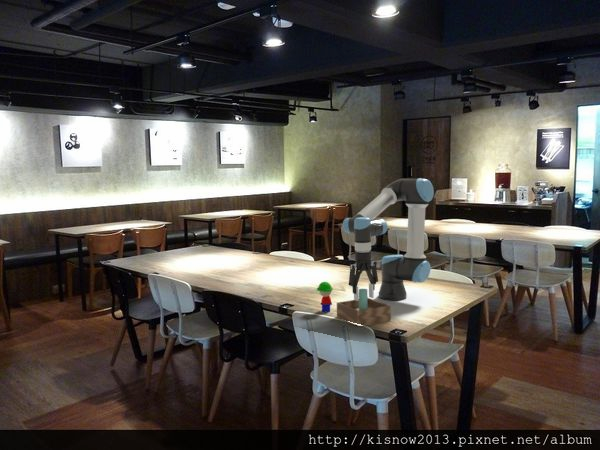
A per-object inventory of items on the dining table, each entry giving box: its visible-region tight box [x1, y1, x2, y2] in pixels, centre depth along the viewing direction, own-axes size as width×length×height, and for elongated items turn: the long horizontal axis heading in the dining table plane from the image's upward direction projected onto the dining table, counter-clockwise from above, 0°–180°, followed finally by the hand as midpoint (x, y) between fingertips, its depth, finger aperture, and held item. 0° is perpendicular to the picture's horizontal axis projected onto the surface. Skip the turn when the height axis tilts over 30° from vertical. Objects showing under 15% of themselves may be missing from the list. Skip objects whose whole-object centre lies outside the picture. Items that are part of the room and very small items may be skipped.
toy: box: [316, 281, 334, 313], centre depth 245 cm, size 8×8×15 cm
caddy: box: [336, 297, 392, 327], centre depth 232 cm, size 18×18×7 cm
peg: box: [358, 288, 368, 311], centre depth 232 cm, size 4×4×14 cm
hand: (363, 298), depth 232 cm, fingers open, 8 cm apart
